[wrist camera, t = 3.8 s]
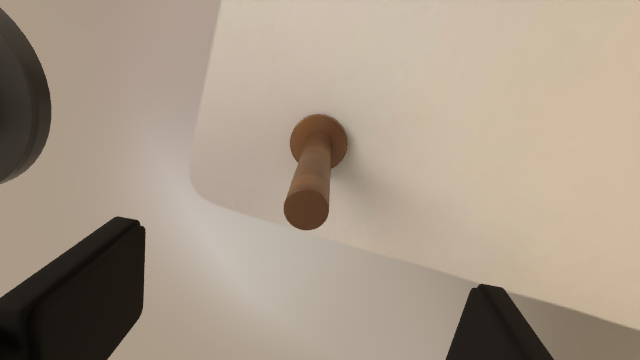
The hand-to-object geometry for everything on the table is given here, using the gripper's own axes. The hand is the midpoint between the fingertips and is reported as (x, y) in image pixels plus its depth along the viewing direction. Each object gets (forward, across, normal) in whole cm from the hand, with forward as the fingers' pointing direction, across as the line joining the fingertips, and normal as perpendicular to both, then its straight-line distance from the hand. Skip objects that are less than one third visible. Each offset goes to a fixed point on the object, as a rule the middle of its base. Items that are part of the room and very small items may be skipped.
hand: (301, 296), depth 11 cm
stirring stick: (+20, +1, 0) cm, 20 cm away
